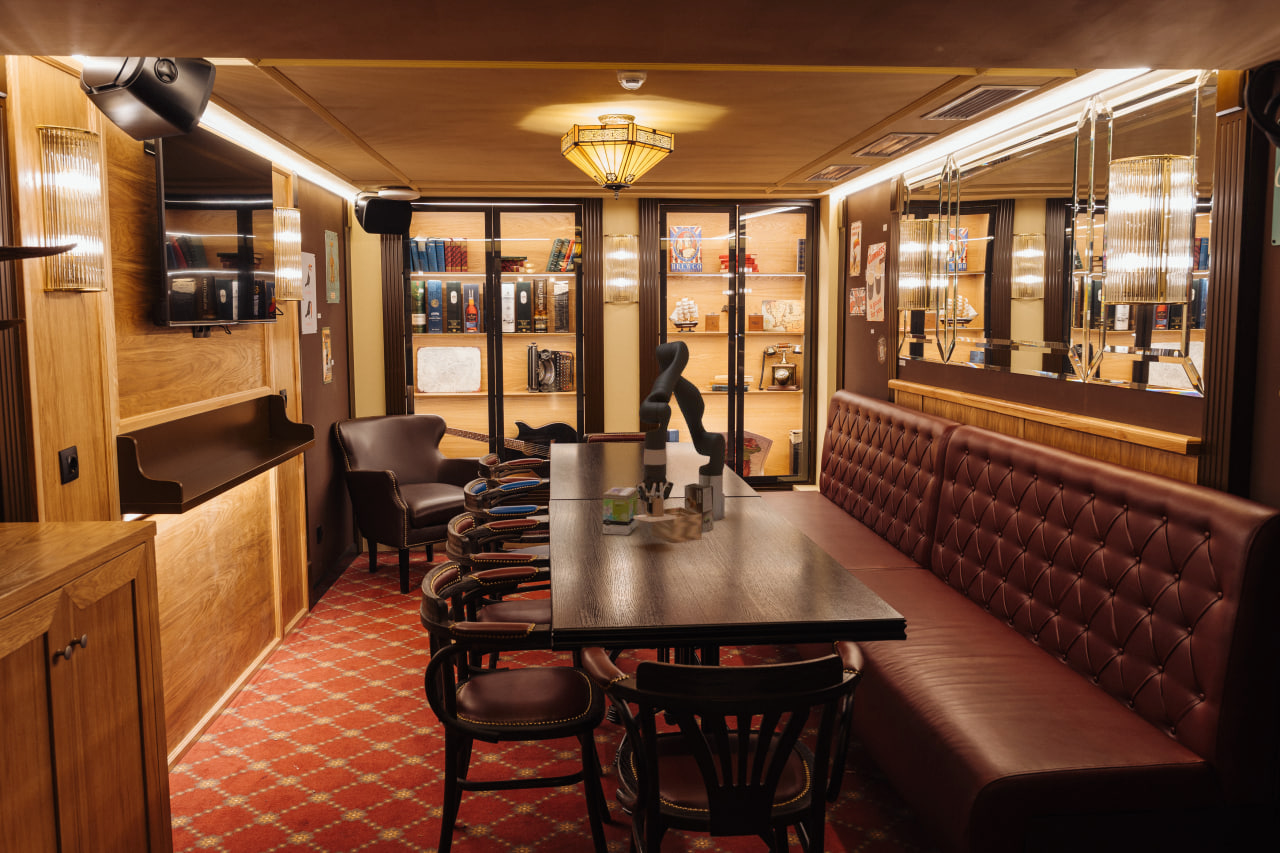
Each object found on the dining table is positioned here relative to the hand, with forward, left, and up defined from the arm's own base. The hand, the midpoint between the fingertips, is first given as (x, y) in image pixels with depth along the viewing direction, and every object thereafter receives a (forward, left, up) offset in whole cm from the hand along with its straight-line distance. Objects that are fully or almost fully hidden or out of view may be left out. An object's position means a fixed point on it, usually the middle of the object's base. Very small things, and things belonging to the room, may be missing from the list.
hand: (654, 512), depth 296 cm
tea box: (-1, -27, -12) cm, 30 cm away
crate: (-14, -9, -12) cm, 20 cm away
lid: (0, 0, -2) cm, 2 cm away
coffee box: (-27, -15, -12) cm, 33 cm away
